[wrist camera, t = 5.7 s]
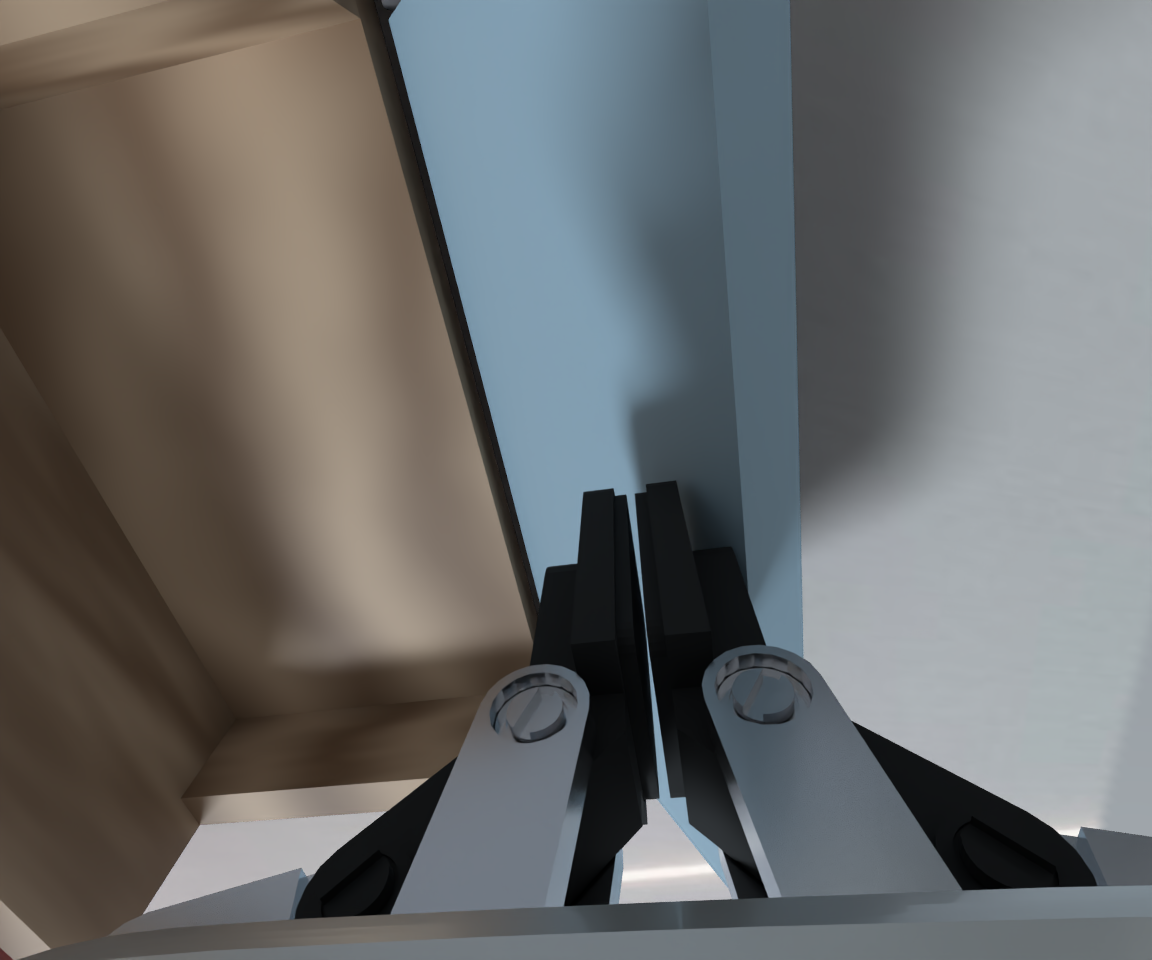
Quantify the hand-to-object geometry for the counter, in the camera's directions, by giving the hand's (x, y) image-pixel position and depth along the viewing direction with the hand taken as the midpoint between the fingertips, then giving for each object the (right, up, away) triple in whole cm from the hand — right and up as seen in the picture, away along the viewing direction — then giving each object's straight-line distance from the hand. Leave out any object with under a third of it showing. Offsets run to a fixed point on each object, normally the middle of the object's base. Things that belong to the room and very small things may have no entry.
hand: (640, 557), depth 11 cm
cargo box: (-11, +2, +10) cm, 15 cm away
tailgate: (-3, +3, +8) cm, 9 cm away
